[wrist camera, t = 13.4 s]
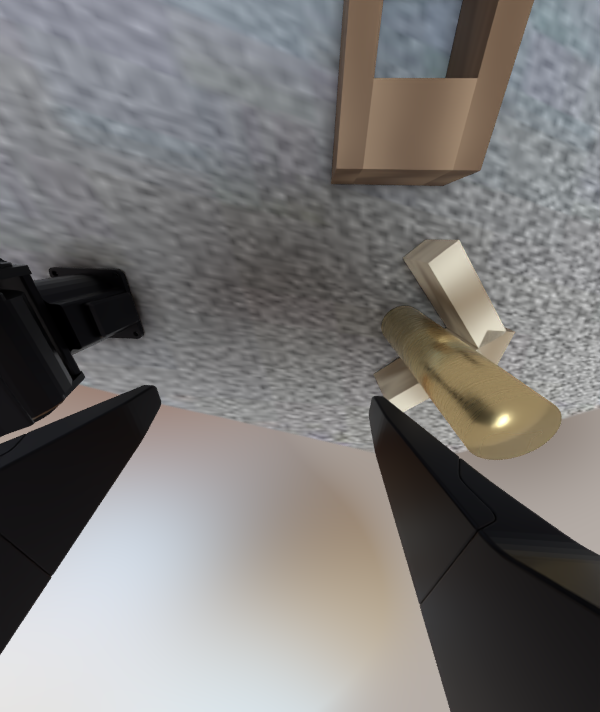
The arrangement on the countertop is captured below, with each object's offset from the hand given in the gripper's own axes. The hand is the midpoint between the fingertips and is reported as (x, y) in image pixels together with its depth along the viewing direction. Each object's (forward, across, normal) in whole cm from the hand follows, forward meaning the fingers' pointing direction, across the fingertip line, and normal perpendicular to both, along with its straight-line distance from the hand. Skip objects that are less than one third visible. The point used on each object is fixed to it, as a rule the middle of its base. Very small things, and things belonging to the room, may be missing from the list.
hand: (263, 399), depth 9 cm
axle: (+13, -10, +1) cm, 17 cm away
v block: (+13, -13, +1) cm, 18 cm away
